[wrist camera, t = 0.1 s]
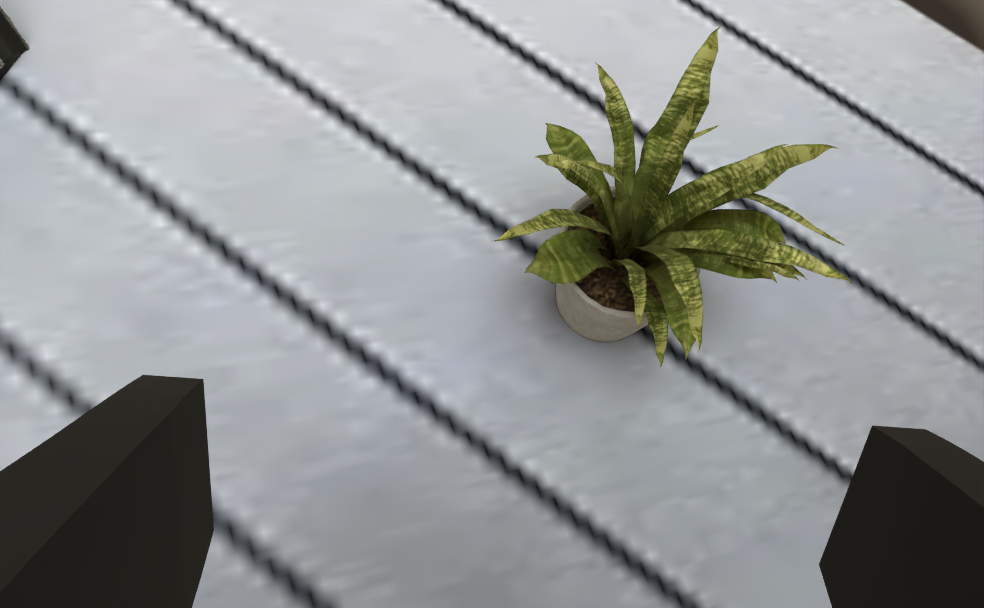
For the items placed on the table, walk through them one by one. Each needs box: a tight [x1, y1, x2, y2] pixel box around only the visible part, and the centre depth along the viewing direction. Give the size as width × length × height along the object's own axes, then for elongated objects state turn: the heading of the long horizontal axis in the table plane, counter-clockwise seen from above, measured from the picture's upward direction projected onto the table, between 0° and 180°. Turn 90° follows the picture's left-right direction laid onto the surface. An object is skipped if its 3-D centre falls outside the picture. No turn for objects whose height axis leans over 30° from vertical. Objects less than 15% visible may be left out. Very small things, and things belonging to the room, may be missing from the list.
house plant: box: [494, 26, 851, 368], centre depth 37 cm, size 14×14×16 cm
